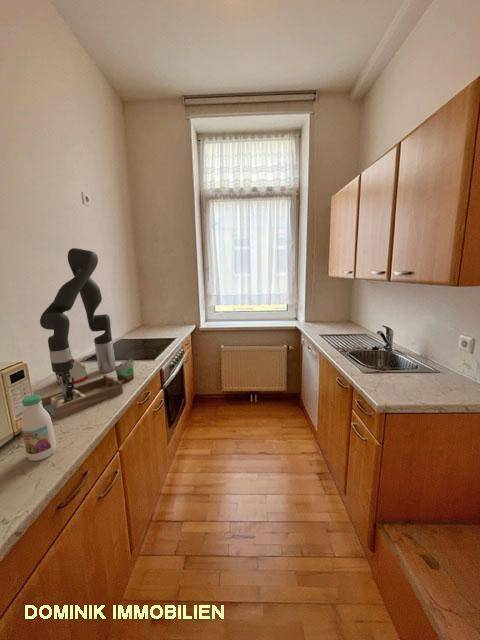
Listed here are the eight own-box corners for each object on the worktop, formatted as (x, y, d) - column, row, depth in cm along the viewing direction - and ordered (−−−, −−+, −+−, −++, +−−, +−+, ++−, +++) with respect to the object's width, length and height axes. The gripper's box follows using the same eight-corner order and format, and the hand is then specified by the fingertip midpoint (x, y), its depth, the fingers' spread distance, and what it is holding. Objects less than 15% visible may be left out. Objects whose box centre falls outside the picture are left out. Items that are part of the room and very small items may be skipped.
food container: (127, 385, 137) (125, 366, 135) (116, 384, 138) (114, 366, 136) (140, 375, 148) (138, 358, 146) (130, 374, 150) (128, 357, 148)
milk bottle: (38, 446, 91) (26, 392, 87) (61, 444, 92) (51, 391, 87) (22, 463, 83) (8, 404, 79) (48, 460, 84) (36, 403, 80)
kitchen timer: (77, 373, 154) (73, 348, 151) (92, 377, 148) (88, 351, 145) (52, 383, 142) (47, 356, 139) (67, 387, 136) (62, 359, 133)
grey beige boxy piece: (51, 404, 117) (47, 385, 115) (76, 395, 125) (73, 377, 123) (61, 412, 110) (57, 392, 108) (87, 402, 117) (84, 383, 116)
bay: (43, 408, 116) (40, 396, 115) (106, 384, 138) (105, 374, 137) (56, 420, 107) (54, 407, 106) (123, 392, 128) (121, 382, 127)
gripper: (45, 358, 114) (52, 395, 118) (57, 365, 106) (64, 404, 109) (64, 353, 120) (71, 388, 124) (78, 359, 112) (84, 397, 115)
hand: (68, 396), depth 116 cm, fingers closed on grey beige boxy piece, 3 cm apart
